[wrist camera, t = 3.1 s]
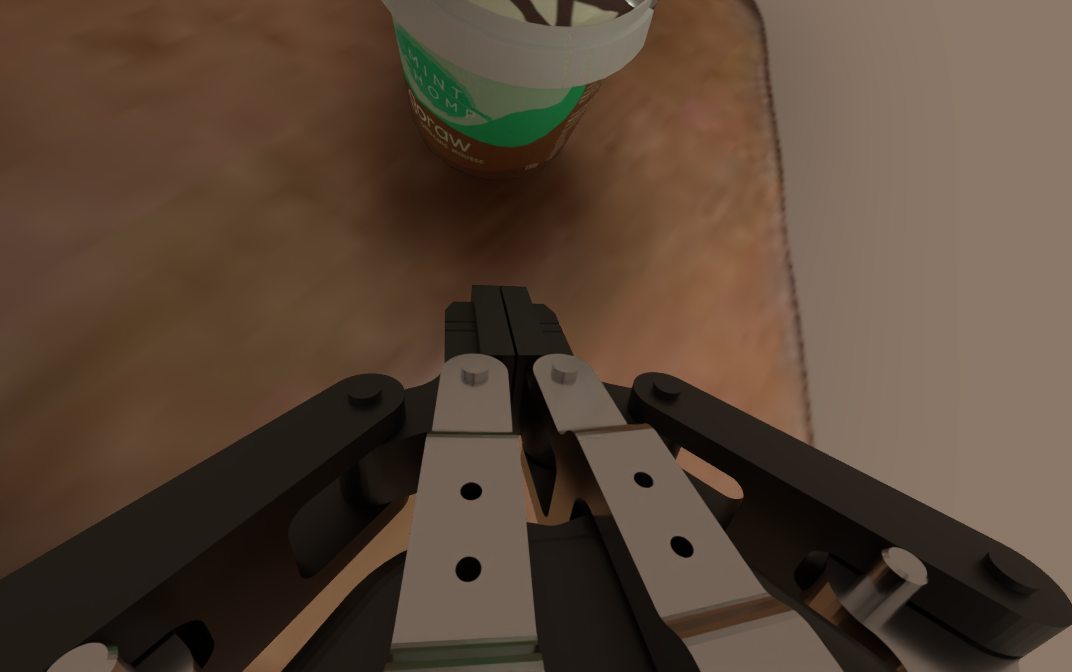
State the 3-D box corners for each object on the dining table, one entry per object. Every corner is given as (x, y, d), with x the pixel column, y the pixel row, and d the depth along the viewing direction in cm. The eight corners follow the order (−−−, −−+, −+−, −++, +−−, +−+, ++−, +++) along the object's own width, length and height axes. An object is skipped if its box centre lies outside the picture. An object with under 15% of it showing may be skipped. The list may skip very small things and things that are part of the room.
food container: (338, 118, 23) (264, -112, 13) (402, 47, 24) (379, -200, 15) (535, 239, 23) (599, 105, 14) (582, 162, 25) (668, -3, 16)
